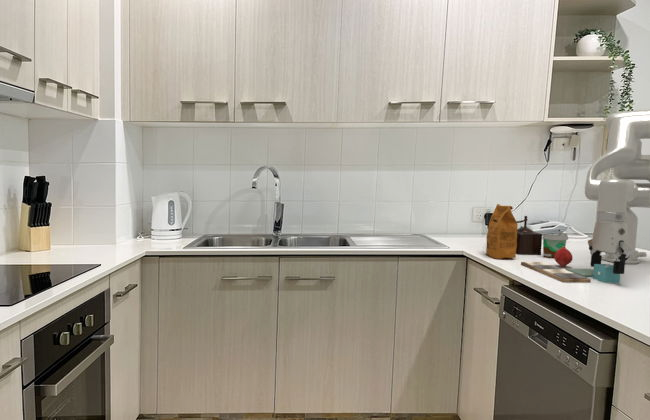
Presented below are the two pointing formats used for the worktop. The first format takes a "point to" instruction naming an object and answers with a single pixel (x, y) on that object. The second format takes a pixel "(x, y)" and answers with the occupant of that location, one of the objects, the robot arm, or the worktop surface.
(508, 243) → the coffee package
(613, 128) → the robot arm
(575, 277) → the board
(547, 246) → the food container
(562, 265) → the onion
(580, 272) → the mat
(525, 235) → the manual coffee grinder
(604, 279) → the die
